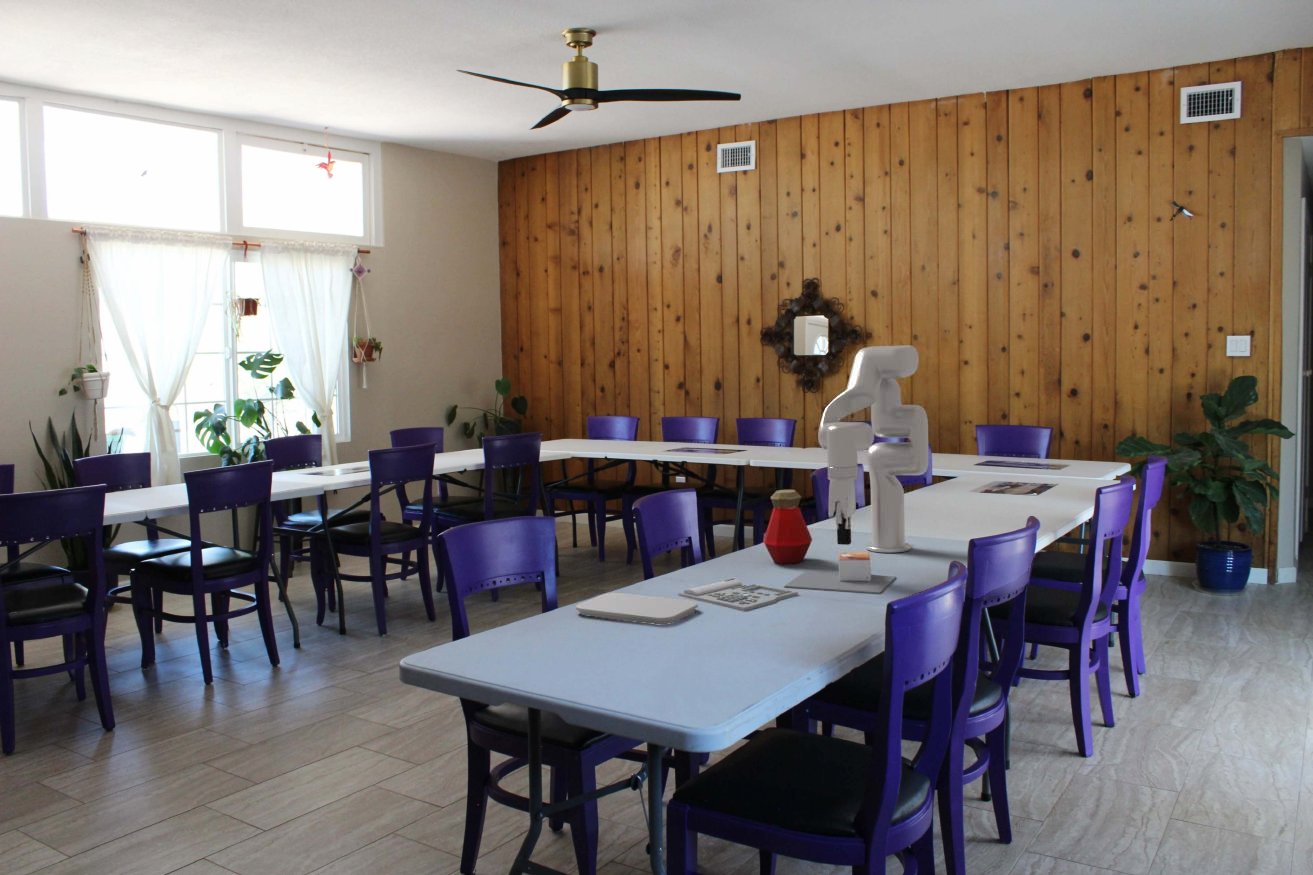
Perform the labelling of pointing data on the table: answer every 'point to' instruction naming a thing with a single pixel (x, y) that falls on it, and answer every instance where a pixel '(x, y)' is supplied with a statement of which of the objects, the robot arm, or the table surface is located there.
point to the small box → (854, 566)
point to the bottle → (787, 529)
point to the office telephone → (737, 594)
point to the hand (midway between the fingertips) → (844, 543)
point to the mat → (839, 583)
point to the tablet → (637, 608)
